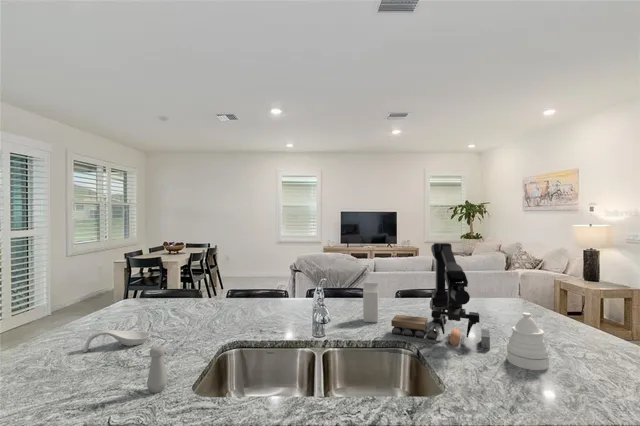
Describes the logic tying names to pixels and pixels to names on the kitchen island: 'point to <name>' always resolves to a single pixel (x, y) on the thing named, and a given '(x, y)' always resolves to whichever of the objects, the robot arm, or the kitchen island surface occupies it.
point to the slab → (409, 322)
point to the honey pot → (527, 345)
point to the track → (419, 334)
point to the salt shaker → (157, 370)
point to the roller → (455, 337)
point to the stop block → (485, 339)
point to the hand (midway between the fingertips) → (455, 335)
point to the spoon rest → (121, 337)
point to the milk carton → (370, 302)
